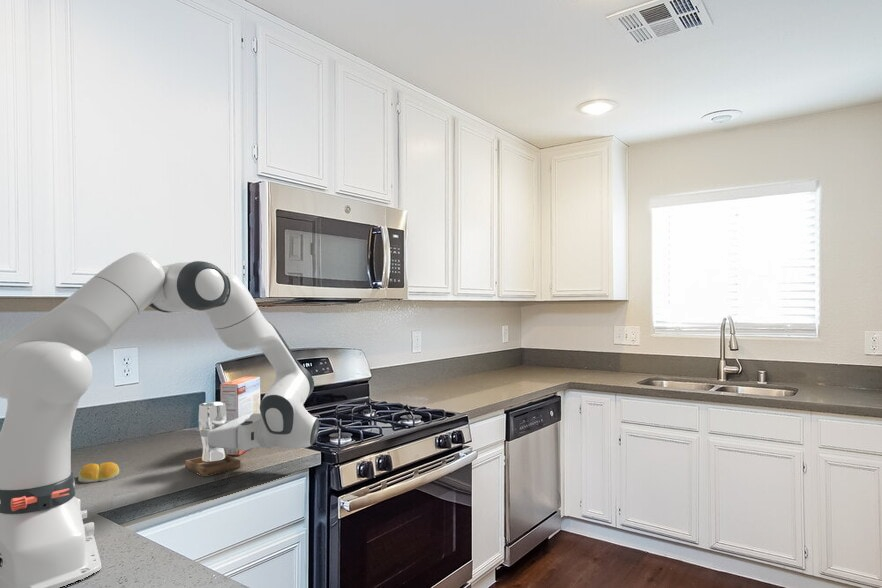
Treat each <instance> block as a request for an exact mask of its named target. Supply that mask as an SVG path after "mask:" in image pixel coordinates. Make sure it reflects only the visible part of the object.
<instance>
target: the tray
mask: <svg viewBox="0 0 882 588" xmlns="http://www.w3.org/2000/svg"><path fill="white" fill-rule="evenodd" d="M225 456H226V458H225V459H224V460H222V461H219V462H213V463H204V462H202V461H201V459H202V456H199V457H195V458H190V459H186V460H184V461H185V462H184V466H185V469H187V470H188V471H191V472H193V473H195V474H197V473H198V474H197V475H199V474H200V475H199V476H201V475H202V476H201V477H203V476H206V477H208V476H207V475H210V476H212V475H211V474H214V475H216V474H215V473H218V474H220V473H219V472H222V473H225V472H224V471H226V472H229V471H228V470H230V471H233V470H232V469H234V470H238V469H241V467H242V466H241V465H242V463H241V460H240V459H238V458H236V457H233V456H232V455H226V454H225ZM237 468H238V469H237Z"/></svg>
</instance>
